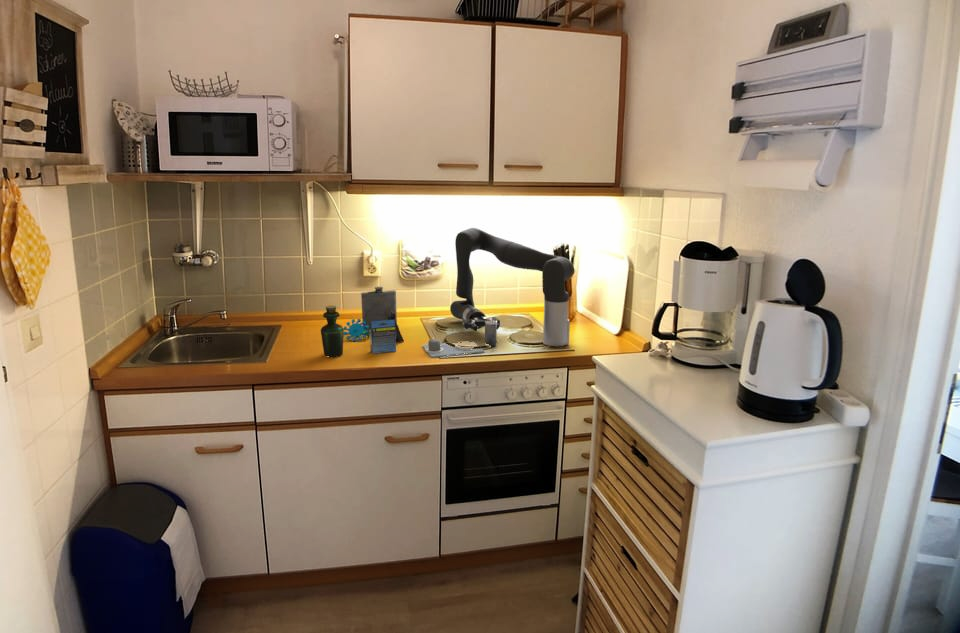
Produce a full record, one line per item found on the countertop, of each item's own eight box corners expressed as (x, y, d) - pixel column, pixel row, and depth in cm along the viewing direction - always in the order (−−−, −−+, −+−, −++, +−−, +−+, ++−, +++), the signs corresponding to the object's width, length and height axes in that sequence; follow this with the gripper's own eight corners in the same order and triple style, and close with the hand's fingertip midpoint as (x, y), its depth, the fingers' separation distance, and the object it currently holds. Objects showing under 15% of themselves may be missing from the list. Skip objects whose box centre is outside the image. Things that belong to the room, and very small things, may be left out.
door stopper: (381, 344, 242) (379, 314, 239) (377, 340, 248) (376, 310, 245) (403, 342, 245) (403, 312, 242) (400, 337, 251) (399, 308, 248)
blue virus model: (339, 337, 245) (346, 315, 250) (342, 344, 250) (348, 323, 255) (367, 342, 244) (374, 320, 249) (369, 349, 249) (375, 327, 254)
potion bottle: (348, 356, 228) (345, 307, 224) (326, 359, 224) (323, 310, 219) (340, 350, 235) (337, 303, 230) (319, 353, 231) (316, 305, 226)
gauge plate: (472, 342, 246) (472, 331, 245) (484, 352, 233) (484, 342, 232) (421, 346, 239) (420, 336, 238) (430, 358, 227) (429, 347, 226)
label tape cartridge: (394, 348, 237) (393, 316, 234) (396, 351, 234) (395, 319, 231) (370, 350, 234) (369, 318, 231) (372, 354, 231) (370, 321, 228)
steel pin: (494, 343, 244) (494, 318, 241) (498, 347, 239) (498, 321, 237) (483, 345, 242) (483, 319, 240) (486, 348, 238) (487, 322, 236)
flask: (398, 328, 264) (396, 286, 259) (363, 332, 259) (362, 289, 254) (396, 326, 267) (394, 284, 262) (362, 329, 262) (360, 287, 257)
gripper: (457, 310, 255) (469, 319, 240) (490, 307, 260) (504, 317, 245) (457, 327, 257) (469, 338, 242) (490, 325, 262) (504, 335, 247)
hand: (487, 327), depth 244 cm, fingers open, 8 cm apart
